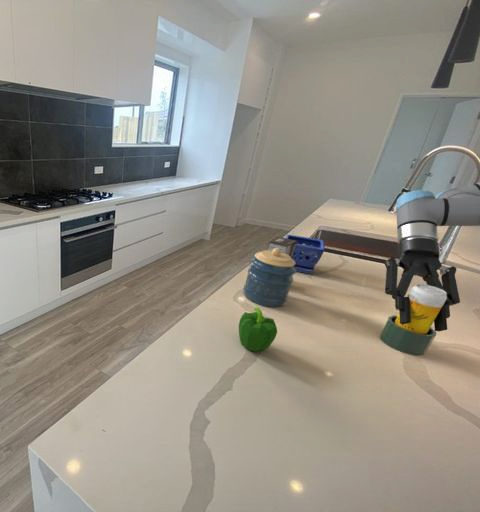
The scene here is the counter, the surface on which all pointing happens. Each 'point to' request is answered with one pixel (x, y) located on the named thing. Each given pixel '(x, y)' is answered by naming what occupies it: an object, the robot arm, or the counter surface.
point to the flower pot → (306, 253)
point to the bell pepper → (256, 331)
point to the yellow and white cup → (423, 308)
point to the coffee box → (283, 245)
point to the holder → (406, 338)
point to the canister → (269, 278)
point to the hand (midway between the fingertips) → (422, 326)
